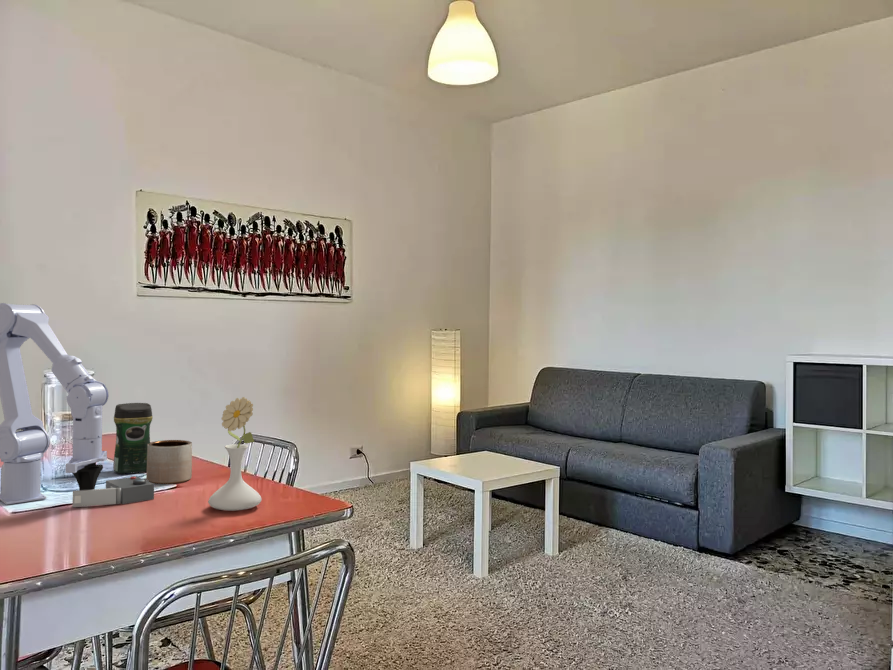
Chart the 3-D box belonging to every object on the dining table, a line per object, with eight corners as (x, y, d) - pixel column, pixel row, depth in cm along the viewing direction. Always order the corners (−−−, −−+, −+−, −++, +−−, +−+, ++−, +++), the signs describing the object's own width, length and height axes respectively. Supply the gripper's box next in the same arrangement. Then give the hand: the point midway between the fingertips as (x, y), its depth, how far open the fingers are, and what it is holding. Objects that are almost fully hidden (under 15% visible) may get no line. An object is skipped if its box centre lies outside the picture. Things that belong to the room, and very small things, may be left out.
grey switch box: (105, 495, 161) (105, 477, 161) (136, 491, 166) (136, 473, 166) (122, 504, 154) (122, 485, 154) (153, 499, 159) (154, 480, 159)
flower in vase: (200, 506, 154) (202, 394, 153) (248, 499, 161) (251, 392, 161) (223, 519, 144) (225, 400, 143) (273, 511, 151) (276, 397, 151)
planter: (192, 483, 175) (193, 445, 175) (145, 486, 171) (146, 447, 171) (191, 474, 185) (191, 439, 185) (147, 476, 181) (147, 440, 181)
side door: (72, 507, 149) (72, 492, 149) (72, 506, 150) (73, 490, 150) (120, 504, 153) (121, 488, 153) (120, 502, 154) (121, 487, 154)
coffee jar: (148, 466, 193) (150, 400, 193) (154, 472, 186) (155, 403, 186) (110, 470, 188) (112, 402, 188) (114, 475, 181) (116, 405, 181)
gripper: (89, 443, 145) (89, 507, 145) (120, 432, 159) (119, 490, 159) (55, 442, 144) (54, 507, 145) (89, 431, 159) (88, 490, 159)
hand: (86, 498), depth 152 cm, fingers closed, pressing on side door
